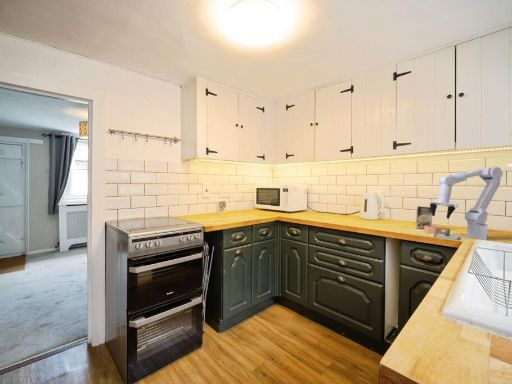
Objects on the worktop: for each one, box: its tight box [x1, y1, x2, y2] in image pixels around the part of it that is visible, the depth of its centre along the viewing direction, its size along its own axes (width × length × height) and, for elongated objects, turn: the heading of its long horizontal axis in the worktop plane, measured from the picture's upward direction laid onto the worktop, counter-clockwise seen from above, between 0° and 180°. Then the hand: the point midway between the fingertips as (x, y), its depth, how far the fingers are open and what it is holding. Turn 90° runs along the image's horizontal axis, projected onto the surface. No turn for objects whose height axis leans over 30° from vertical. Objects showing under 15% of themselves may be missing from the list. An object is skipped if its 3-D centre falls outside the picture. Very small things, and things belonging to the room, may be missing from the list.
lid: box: [435, 228, 459, 241], centre depth 151 cm, size 10×10×5 cm
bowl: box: [423, 224, 442, 235], centre depth 165 cm, size 9×9×4 cm
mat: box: [432, 234, 462, 241], centre depth 151 cm, size 13×12×1 cm
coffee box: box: [415, 206, 433, 230], centre depth 181 cm, size 9×6×16 cm
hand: (440, 217), depth 153 cm, fingers open, 7 cm apart
